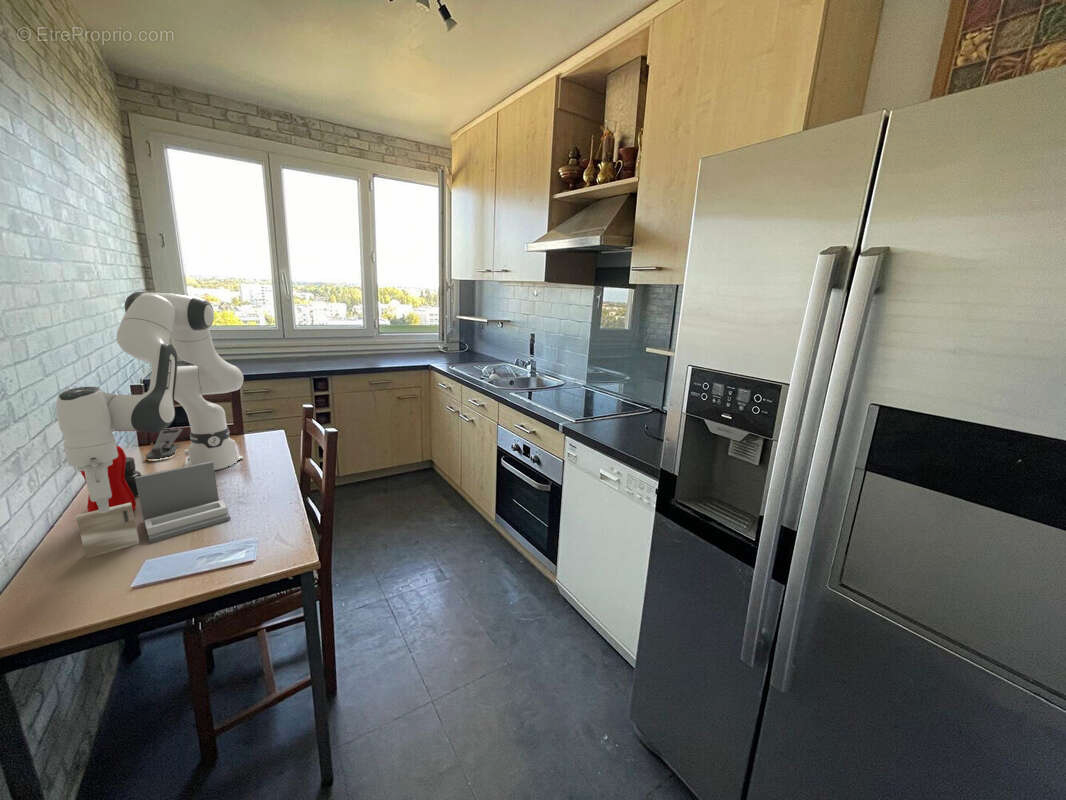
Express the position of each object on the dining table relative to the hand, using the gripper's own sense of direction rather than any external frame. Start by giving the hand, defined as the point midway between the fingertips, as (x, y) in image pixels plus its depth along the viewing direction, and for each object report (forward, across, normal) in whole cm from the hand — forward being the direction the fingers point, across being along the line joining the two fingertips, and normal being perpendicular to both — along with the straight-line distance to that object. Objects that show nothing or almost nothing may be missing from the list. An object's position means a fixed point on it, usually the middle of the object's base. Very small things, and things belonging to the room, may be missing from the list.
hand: (103, 505), depth 109 cm
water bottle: (+12, +22, -1) cm, 26 cm away
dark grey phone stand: (+12, +81, -20) cm, 85 cm away
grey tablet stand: (+12, +5, -16) cm, 21 cm away
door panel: (+12, 0, 0) cm, 12 cm away
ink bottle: (+12, +38, -5) cm, 41 cm away
